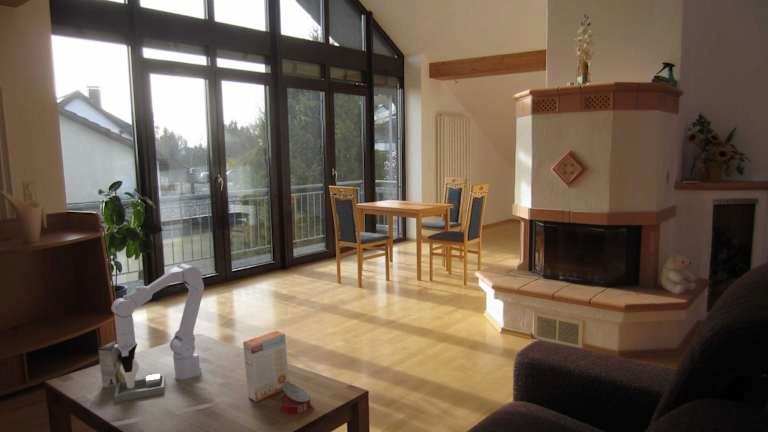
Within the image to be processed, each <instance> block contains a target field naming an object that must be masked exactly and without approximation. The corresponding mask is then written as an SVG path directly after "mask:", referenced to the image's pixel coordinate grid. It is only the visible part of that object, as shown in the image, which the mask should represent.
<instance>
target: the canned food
mask: <svg viewBox="0 0 768 432" xmlns="http://www.w3.org/2000/svg"><path fill="white" fill-rule="evenodd" d="M283 392H284V394H285V395H283V396H282V397H281V398H280V400H279V401H280V410H281V412H282V413H284V414H286V415H298V414H302V413H304V412H307V411H308V410H309V409H310V408H309V407H311V397H310V395H309V393H308V392H307V391H305V390H304V389H303V388H301V387H300V386H298V385H295V383H291V382H290V381H289V382H288V381H285V382H283Z"/></svg>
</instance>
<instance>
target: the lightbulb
mask: <svg viewBox="0 0 768 432" xmlns="http://www.w3.org/2000/svg"><path fill="white" fill-rule="evenodd" d="M139 369H140V364H139V362H138V360H136V359H135V358H134V359H133V366H132V372H127V373H125V371H124V368H123V365H122V364H121V366H120V371H121V373H122V374H123V375H124V377H125V381H126V384H127V388H129V389H132V388H133V387H134V386H135V380H136V378H137V377H136V376H137V374H138V371H139Z"/></svg>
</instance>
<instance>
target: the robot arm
mask: <svg viewBox="0 0 768 432" xmlns="http://www.w3.org/2000/svg"><path fill="white" fill-rule="evenodd" d="M202 276H203V273H202V272H201V271H200V269H199V268H198V267H196V266H194V265H190V264H189V263H188V264H187V263H183V262H182V263H179V264H178V265H177V266H174V267H172V268H171V269H170V270H169V271H168V272H166V273H164V274H163V275H162V276H160V277H159V278H157V279H156V280H154V281H152V282H151V283H150V284H149V285H146V286H145V285H141V286H139V285H137V286H136V287H135V289H134V290H133V291H131V292H130V293H128V294H124V295H123V296H122V297H121V298H116V299H115V300H114V301H113V303H112V305H111V307H110V309H111V312H112V313H113V314H114V325H115V333H116V340H117V342H118V344H116V345H114V348H118V349H119V350H120V351H121V353H120V354H118V355H117V357H118V359H119V360H120V361H121V363H122V365H123V368H124V371H125V373H127V372H132V366H133V359H135V355H136V349H137V347H138V343H137V341H136V335H135V325H134V318H133V313H134V312H135V309H137V308H139V307H141V306H142V305H144V304H145V303H146V302H149V301H150V300H152V298H153V295H154V294H155V293H156V292H159V291H161V290H162V289H164V288H165V287H168V286H169V285H170V284H172V283H184V285H185V287H187V289H188V292H187V296H186V299H185V304H184V308H183V312H182V316H181V319H180V320H181V321H180V322H179V323H180V324H179V328H178V330H177V331H175V332H174V336H173V338H172V339H171V340H170V343H169V348H170V350H171V351H172V352H173V355H172V357H173V368H174V378H175V379H176V380H187V379H191V378H194V377H200V376H201V372H202V367H201V365H200V355H199V353H198V352H195V351H196V345H195V343H196V341H195V340H196V337H195V334H194V331H195V327H196V322H197V318H198V315H199V310H200V306H201V302H202V299H203V298H202V297H203V294H204V290H205V284H204V281H203V277H202Z"/></svg>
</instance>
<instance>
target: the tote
mask: <svg viewBox="0 0 768 432" xmlns="http://www.w3.org/2000/svg"><path fill="white" fill-rule="evenodd" d="M160 377H161V386H160V387H154V388H149V389H147V385H146V378H147V377H143V378H137V379H136V378H135V386H134V387H133V388H132V389H129V388H127V384H126V381H125V382H119V383H118V385H117V388H115V392H114V396H113V398H114V403H119V402H125V401H131V400H136V399H142V398H147V397H152V396H156V395H157V396H158V395H164V394H165V391H166V390H165V389H166V374H160Z"/></svg>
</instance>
